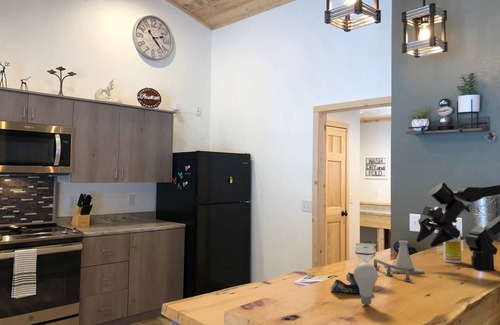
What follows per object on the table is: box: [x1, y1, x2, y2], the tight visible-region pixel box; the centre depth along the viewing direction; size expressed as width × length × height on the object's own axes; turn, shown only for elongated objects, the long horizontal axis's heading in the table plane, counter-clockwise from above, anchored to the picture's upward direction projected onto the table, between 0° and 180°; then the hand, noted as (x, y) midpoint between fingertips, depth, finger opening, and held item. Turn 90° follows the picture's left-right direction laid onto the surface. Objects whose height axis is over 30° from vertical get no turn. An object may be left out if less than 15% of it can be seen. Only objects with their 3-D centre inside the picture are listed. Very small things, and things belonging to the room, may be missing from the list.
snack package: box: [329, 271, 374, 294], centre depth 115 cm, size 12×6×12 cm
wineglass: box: [354, 242, 377, 263], centre depth 129 cm, size 7×7×12 cm
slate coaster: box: [383, 265, 426, 275], centre depth 146 cm, size 11×11×1 cm
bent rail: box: [373, 258, 413, 283], centre depth 138 cm, size 4×22×4 cm, turn 14°
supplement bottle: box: [442, 236, 463, 264], centre depth 164 cm, size 7×7×13 cm
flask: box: [394, 240, 415, 270], centre depth 146 cm, size 7×7×10 cm
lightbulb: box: [353, 261, 379, 307], centre depth 102 cm, size 6×6×11 cm
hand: (423, 243), depth 147 cm, fingers open, 9 cm apart
